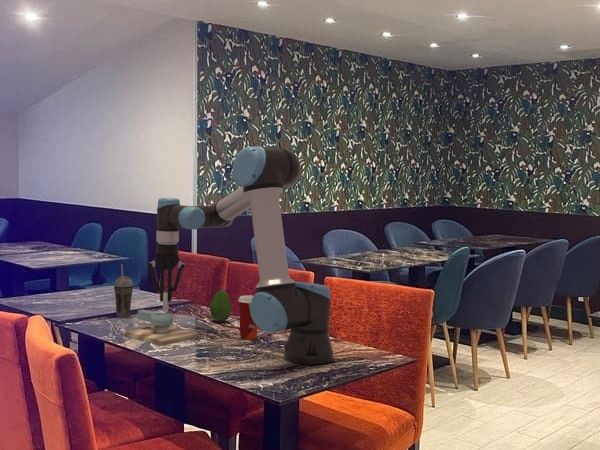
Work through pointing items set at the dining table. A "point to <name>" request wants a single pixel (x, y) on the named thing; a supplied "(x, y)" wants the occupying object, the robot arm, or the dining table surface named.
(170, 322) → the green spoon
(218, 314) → the avocado
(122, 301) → the beverage cup
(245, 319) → the paper cup
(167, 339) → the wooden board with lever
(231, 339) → the dining table surface
